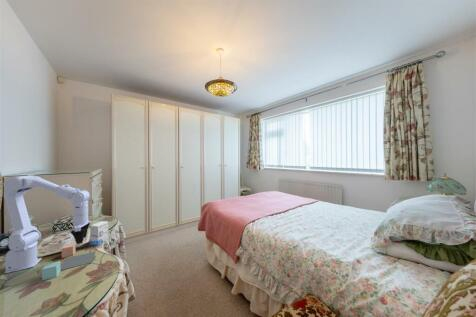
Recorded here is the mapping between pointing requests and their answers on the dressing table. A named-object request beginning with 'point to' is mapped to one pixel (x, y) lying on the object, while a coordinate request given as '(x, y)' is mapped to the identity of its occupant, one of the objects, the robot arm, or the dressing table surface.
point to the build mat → (77, 261)
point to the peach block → (68, 250)
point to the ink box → (98, 232)
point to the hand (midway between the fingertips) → (81, 240)
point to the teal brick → (51, 270)
